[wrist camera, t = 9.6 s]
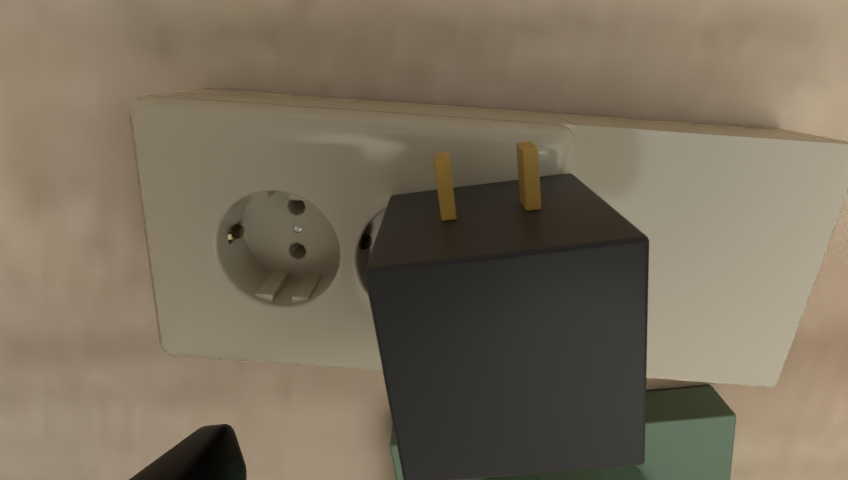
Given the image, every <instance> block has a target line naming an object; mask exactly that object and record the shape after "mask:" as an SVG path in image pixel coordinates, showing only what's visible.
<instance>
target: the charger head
mask: <svg viewBox="0 0 848 480" xmlns="http://www.w3.org/2000/svg"><path fill="white" fill-rule="evenodd" d="M516 151H517V166H518V180H512V181H503V182H495V183H487V184H479V185H471V186H463V187H455V188H453V181H452V173H451V164H450V156H449V152H442V153H435V154H434V168H435V175H436V183H437V190H431V191H423V192H415V193H407V194H399V195H392V196H390V199H389V202H388V205H387V208H386V211H385V213H384V216H383V219H382V222H381V225H380V228H379V231H378V234H377V236H376V239H375V242H374V245H373V248H372V251H371V254H370V256H369V259H368V262H367V265H366V268H365V272H364V274H365V279H366V285H367V290H368V295H369V300H370V306H371V311H372V316H373V321H374V327H375V332H376V337H377V343H378V348H379V353H380V358H381V364H382V369H383V374H384V379H385V385H386V390H387V395H388V400H389V406H390V411H391V416H392V422H393V427H394V432H395V437H396V443H397V448H398V453H399V458H400V464H401V469H402V474H403V479H404V480H464V479H476V478H488V477H500V476H512V475H524V474H536V473H549V472H561V471H573V470H585V469H597V468H609V467H621V466H633V465H642V464H644V462H645V420H646V372H647V324H648V276H649V239H648V237H647V236H646V235H645V234H644V233H643V232H641V231H640V230H639V229H638V228H637V227H635V226H634V225H633V224H632V223H631V222H629V221H628V220H627V219H626V218H625V217H623V216H622V215H621V214H620V213H619V212H617V211H616V210H615V209H614V208H613V207H611V206H610V205H609V204H608V203H607V202H605V201H604V200H603V199H602V198H601V197H599V196H598V195H597V194H596V193H595V192H593V191H592V190H591V189H590V188H589V187H588V186H586V185H585V184H584V183H583V182H582V181H580V180H579V179H578V178H577V177H576V176H574V175H573V174H571V173H568V174H560V175H552V176H544V177H539V161H538V148H537V146H536V145H534V144H533V143H532V142H531V141H527V142H519V143H517V144H516Z"/></svg>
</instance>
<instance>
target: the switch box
mask: <svg viewBox="0 0 848 480" xmlns="http://www.w3.org/2000/svg"><path fill="white" fill-rule="evenodd" d="M735 424H736V415H735V413H734V412H733V411H732V410H731V409H730V408H729V406H728V405H727V404H726V403H725V402H724V400H723V399H722V398H721V397H720V396H719V394H718V393H717V392H716V391H715V390H714V388H713V387H712V386H701V387H690V388H679V389H668V390H658V391H647V392H646V420H645V462H644V464H642V465H633V466H621V467H609V468H597V469H585V470H573V471H561V472H549V473H536V474H524V475H512V476H500V477H488V478H476V479H464V480H730V475H731V465H732V454H733V444H734V434H735ZM390 449H391V454H392V459H393V464H394V469H395V474H396V479H397V480H404V479H403V474H402V469H401V464H400V458H399V453H398V448H397V443H396V437H395V432H394V427H393V426H392V434H391V442H390Z"/></svg>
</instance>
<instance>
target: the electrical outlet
mask: <svg viewBox="0 0 848 480" xmlns="http://www.w3.org/2000/svg"><path fill="white" fill-rule="evenodd" d="M129 117H130V124H131V132H132V139H133V147H134V154H135V162H136V169H137V177H138V184H139V191H140V199H141V206H142V214H143V221H144V229H145V236H146V244H147V251H148V259H149V266H150V274H151V281H152V288H153V296H154V303H155V311H156V318H157V326H158V333H159V341H160V346H161V349H162V350H163V351H164V352H165V353H167V354H168V355H171V356H178V357H192V358H205V359H219V360H233V361H247V362H260V363H274V364H288V365H302V366H315V367H329V368H343V369H357V370H371V371H383V369H382V364H381V358H380V353H379V348H378V343H377V337H376V332H375V327H374V321H373V316H372V311H371V306H370V300H369V295H368V290H367V285H366V279H365V274H364V272H365V268H366V265H367V262H368V259H369V256H370V254H371V251H372V248H373V245H374V242H375V239H376V236H377V234H378V231H379V228H380V225H381V222H382V219H383V216H384V213H385V211H386V208H387V205H388V202H389V199H390V196H392V195H399V194H407V193H415V192H423V191H431V190H437V183H436V175H435V168H434V154H435V153H442V152H449V156H450V164H451V173H452V181H453V188H455V187H463V186H471V185H479V184H487V183H495V182H503V181H512V180H518V166H517V151H516V144H517V143H519V142H527V141H531V142H532V143H533V144H534V145H536V146H537V148H538V161H539V177H544V176H552V175H560V174H568V173H571V174H573V175H574V176H576V177H577V178H578V179H579V180H580V181H582V182H583V183H584V184H585V185H586V186H588V187H589V188H590V189H591V190H592V191H593V192H595V193H596V194H597V195H598V196H599V197H601V198H602V199H603V200H604V201H605V202H607V203H608V204H609V205H610V206H611V207H613V208H614V209H615V210H616V211H617V212H619V213H620V214H621V215H622V216H623V217H625V218H626V219H627V220H628V221H629V222H631V223H632V224H633V225H634V226H635V227H637V228H638V229H639V230H640V231H641V232H643V233H644V234H645V235H646V236H647V237H648V239H649V276H648V324H647V372H646V378H654V379H667V380H681V381H695V382H709V383H723V384H736V385H750V386H764V387H776V385H777V382H778V379H779V377H780V374H781V371H782V369H783V366H784V363H785V360H786V358H787V355H788V352H789V350H790V347H791V344H792V341H793V339H794V336H795V333H796V331H797V328H798V325H799V323H800V320H801V317H802V314H803V312H804V309H805V306H806V304H807V301H808V298H809V295H810V293H811V290H812V287H813V285H814V282H815V279H816V277H817V274H818V271H819V268H820V266H821V263H822V260H823V258H824V255H825V252H826V250H827V247H828V244H829V241H830V239H831V236H832V233H833V231H834V228H835V225H836V222H837V220H838V217H839V214H840V212H841V209H842V206H843V204H844V201H845V198H846V195H847V193H848V142H846V141H841V140H836V139H831V138H826V137H821V136H816V135H810V134H805V133H800V132H795V131H790V130H785V129H776V128H762V127H748V126H734V125H720V124H706V123H692V122H678V121H664V120H650V119H635V118H621V117H607V116H593V115H579V114H565V113H551V112H550V113H549V112H537V111H523V110H509V109H494V108H480V107H466V106H452V105H438V104H424V103H410V102H396V101H382V100H368V99H353V98H339V97H325V96H311V95H297V94H283V93H269V92H255V91H241V90H227V89H212V88H208V89H199V90H191V91H182V92H174V93H166V94H157V95H150V96H142V97H138V98H137V99H135V100H134V102H133V103H132V105H131V107H130V108H129Z"/></svg>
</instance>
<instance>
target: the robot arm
mask: <svg viewBox="0 0 848 480" xmlns="http://www.w3.org/2000/svg"><path fill="white" fill-rule="evenodd" d="M129 480H246V466H245V462H244V459H243V456H242V453H241V450H240V447H239V444H238V440H237V437H236V434H235V432H234V429H233V428H232V427H231V426H230V425H227V424H221V425H210V426H204V427H201V428H199V429H198V430H196V431H195V432H194V433H192V434H191V435H190V436H188V437H187V438H185V439H184V440H183V441H181V442H180V443H179V444H177V445H176V446H174V447H173V448H172V449H170V450H169V451H168V452H166V453H165V454H164V455H162V456H161V457H159V458H158V459H157V460H155V461H154V462H153V463H151V464H150V465H148V466H147V467H146V468H144V469H143V470H142V471H140V472H139V473H137V474H136V475H135V476H133V477H132V478H131V479H129Z"/></svg>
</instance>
